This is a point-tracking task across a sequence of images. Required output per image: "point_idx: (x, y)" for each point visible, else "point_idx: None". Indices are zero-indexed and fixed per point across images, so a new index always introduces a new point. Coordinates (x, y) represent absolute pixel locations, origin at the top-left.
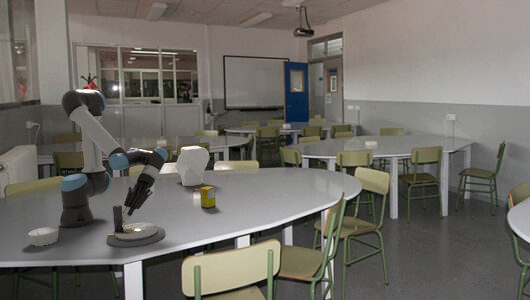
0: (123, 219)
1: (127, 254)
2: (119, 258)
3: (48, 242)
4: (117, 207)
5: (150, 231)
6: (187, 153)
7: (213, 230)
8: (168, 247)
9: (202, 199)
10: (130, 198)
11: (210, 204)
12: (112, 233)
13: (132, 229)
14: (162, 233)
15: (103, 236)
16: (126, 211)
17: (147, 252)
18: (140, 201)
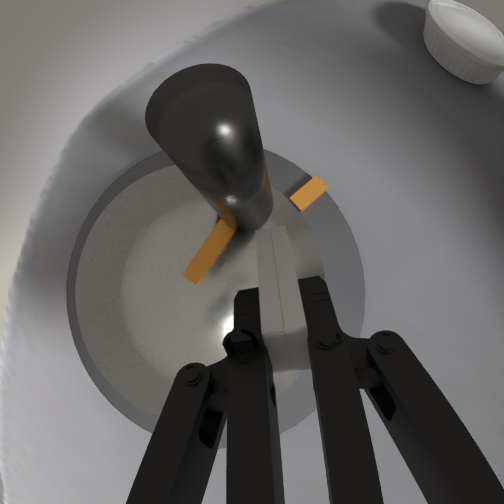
0: (256, 240)
1: (83, 149)
2: (85, 119)
3: (424, 36)
4: (157, 89)
5: (87, 309)
6: None
7: (36, 478)
8: (17, 280)
9: None
10: (367, 443)
11: None
12: (336, 220)
13: (187, 267)
14: (96, 372)
15: (371, 194)
16: (272, 286)
17: (41, 205)
18: (155, 446)
